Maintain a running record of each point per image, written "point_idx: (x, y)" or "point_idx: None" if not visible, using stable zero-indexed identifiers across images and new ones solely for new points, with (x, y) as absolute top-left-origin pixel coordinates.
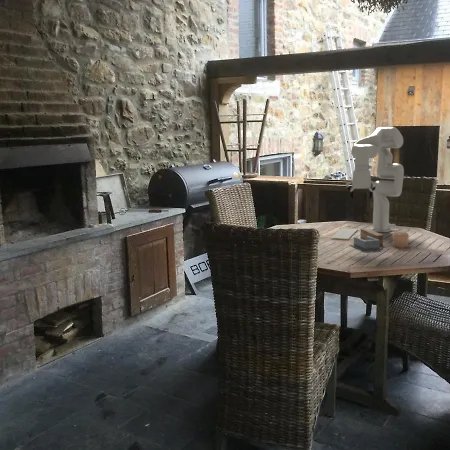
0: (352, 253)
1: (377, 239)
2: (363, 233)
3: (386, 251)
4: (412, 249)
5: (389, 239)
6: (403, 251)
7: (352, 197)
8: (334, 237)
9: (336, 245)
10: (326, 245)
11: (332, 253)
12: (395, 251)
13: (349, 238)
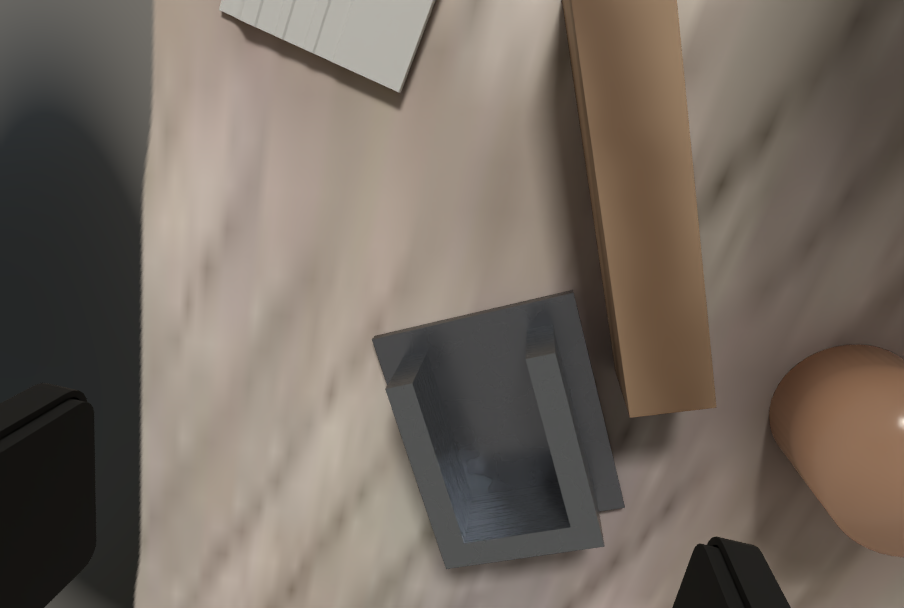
0: (346, 575)
1: (590, 521)
2: (578, 77)
3: (624, 565)
4: None
5: (894, 88)
6: None
7: (44, 593)
8: (257, 5)
9: (257, 314)
10: (173, 304)
11: (206, 553)
12: None
13: (428, 18)
